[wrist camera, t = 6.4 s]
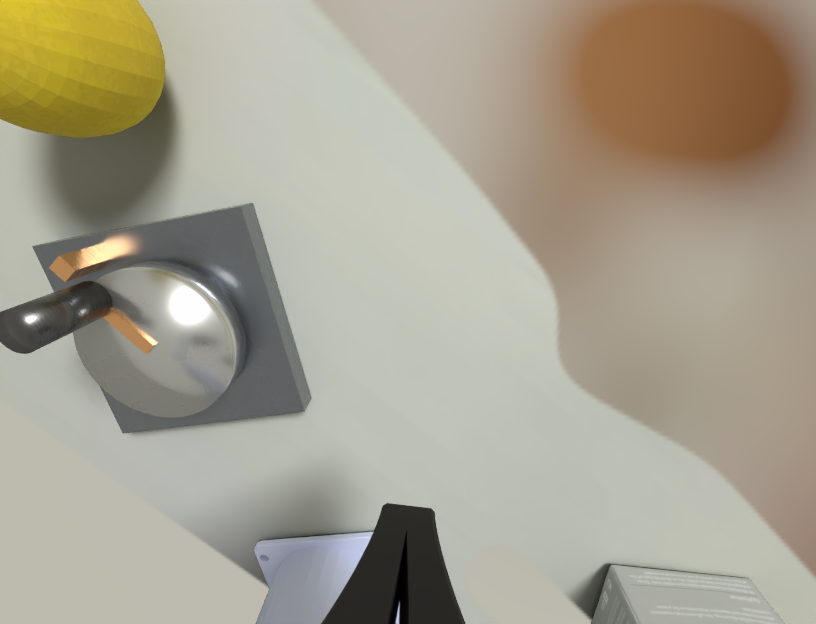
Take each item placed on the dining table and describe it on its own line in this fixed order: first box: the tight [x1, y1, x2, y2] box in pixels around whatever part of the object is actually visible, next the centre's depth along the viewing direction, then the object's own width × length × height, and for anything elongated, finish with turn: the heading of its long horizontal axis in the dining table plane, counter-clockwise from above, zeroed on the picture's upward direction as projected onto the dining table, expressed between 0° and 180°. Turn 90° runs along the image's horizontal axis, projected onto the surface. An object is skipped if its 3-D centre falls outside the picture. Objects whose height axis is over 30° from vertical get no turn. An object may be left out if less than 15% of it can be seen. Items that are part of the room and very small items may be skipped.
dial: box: [0, 261, 246, 417], centre depth 18 cm, size 7×7×5 cm
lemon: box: [0, 0, 165, 138], centre depth 14 cm, size 6×6×8 cm
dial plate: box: [32, 203, 311, 433], centre depth 20 cm, size 10×10×3 cm
